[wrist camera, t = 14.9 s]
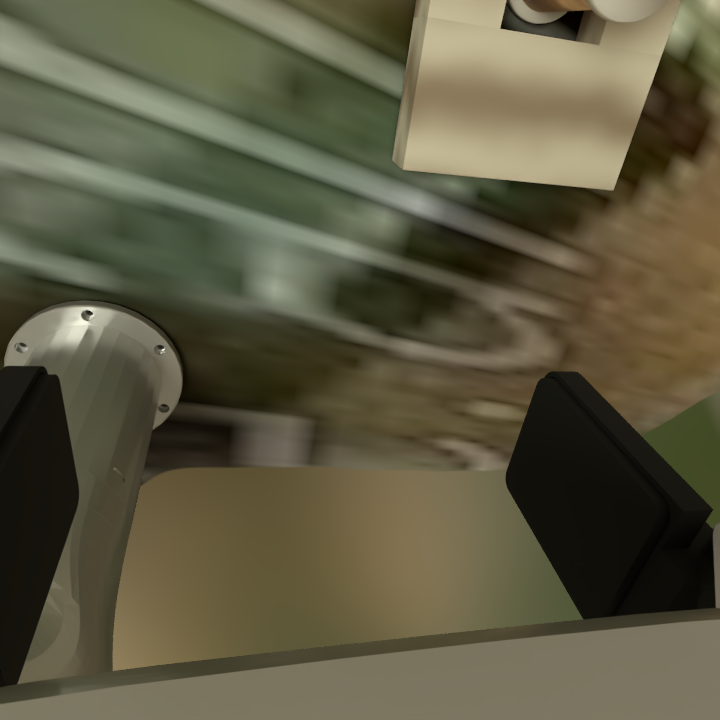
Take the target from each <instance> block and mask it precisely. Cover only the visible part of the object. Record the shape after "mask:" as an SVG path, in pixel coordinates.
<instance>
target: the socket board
mask: <svg viewBox="0 0 720 720" xmlns="http://www.w3.org/2000/svg"><path fill="white" fill-rule="evenodd" d="M506 1H507V0H416V6H415V13H414V19H413V26H412V33H411V39H410V46H409V52H408V59H407V66H406V72H405V79H404V85H403V92H402V99H401V105H400V112H399V118H398V125H397V132H396V138H395V145H394V151H393V158H392V161H393V162H394V163H396V164H397V165H398V166H399V167H400V168H401V169H402V170H410V171H420V172H430V173H441V174H451V175H461V176H471V177H481V178H492V179H502V180H512V181H522V182H533V183H543V184H553V185H563V186H573V187H584V188H594V189H604V190H614V187H615V184H616V181H617V179H618V176H619V173H620V170H621V167H622V165H623V162H624V159H625V156H626V153H627V151H628V148H629V145H630V142H631V140H632V137H633V134H634V131H635V128H636V126H637V123H638V120H639V117H640V114H641V112H642V109H643V106H644V103H645V100H646V98H647V95H648V92H649V89H650V86H651V84H652V81H653V78H654V75H655V72H656V70H657V67H658V64H659V61H660V58H661V56H662V53H663V50H664V47H665V44H666V42H667V39H668V36H669V33H670V31H671V28H672V25H673V22H674V19H675V17H676V14H677V11H678V8H679V5H680V3H681V0H668V1H667V2H666V3H665V4H664V5H663V6H662V7H661V8H660V9H659V10H657V11H656V12H654V13H653V14H651V15H650V16H648V17H646V18H644V19H641V20H638V21H634V22H610V21H607V20H604V19H602V18H600V17H599V16H598V15H596V14H595V13H594V12H593V11H592V10H584V13H583V16H582V20H581V23H580V27H579V30H578V34H577V37H576V41H570V40H564V39H558V38H552V37H546V36H540V35H534V34H528V33H522V32H516V31H510V30H504V29H500V28H501V23H502V19H503V14H504V10H505V5H506Z"/></svg>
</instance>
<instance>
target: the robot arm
mask: <svg viewBox="0 0 720 720" xmlns="http://www.w3.org/2000/svg"><path fill="white" fill-rule="evenodd" d="M87 310H88V311H91V312H92V313H89V312H88V311H87ZM159 345H162V346H163V347H161V346H159ZM182 385H183V367H182V364H181V360H180V357H179V354H178V352H177V350H176V349H175V347H174V345H173V343H172V342H171V340H170V339H169V338H168V337H167V336H166V334H165V333H164V332H163V331H162V330H161V329H160V328H159V327H157V326H156V325H155V324H154V323H153V322H152V321H150V320H148V319H147V318H145V317H143V316H142V315H140V314H138V313H137V312H135V311H132V310H130V309H127V308H125V307H122V306H119V305H115V304H111V303H106V302H101V301H88V300H82V301H71V302H64V303H61V304H57V305H53V306H50V307H48V308H46V309H44V310H42V311H40V312H38V313H36V314H34V315H33V316H32V317H31V318H29V319H28V320H27V321H25V322H24V323H23V325H22V326H21V327H20V328H19V329H18V331H17V332H16V333H15V335H14V336H13V338H12V339H11V341H10V342H9V344H8V347H7V351H6V354H5V358H4V368H3V369H2V370H1V372H0V720H720V523H718V524H717V525H716V526H715V527H714V528H713V529H712V528H711V527H710V526H709V525H708V524H707V523H706V520H707V518H708V517H709V515H710V514H711V512H712V511H713V509H712V508H711V507H710V506H709V505H708V504H707V503H706V502H705V501H704V500H703V499H702V498H701V497H700V496H699V495H698V494H697V493H696V492H695V490H693V488H691V486H690V485H689V484H688V483H687V482H686V481H685V480H684V479H683V478H682V477H681V476H680V475H679V474H678V473H677V472H676V471H675V470H674V469H673V468H672V467H671V466H670V465H669V464H668V463H667V462H666V461H665V460H664V459H663V458H662V457H661V456H660V455H659V454H658V453H657V452H656V451H655V450H654V449H653V448H652V447H651V446H650V445H649V444H648V443H647V442H646V441H645V440H644V438H643V437H642V436H641V435H640V434H639V433H638V432H637V431H636V430H635V429H634V428H633V427H632V426H631V425H630V424H629V423H628V422H627V421H626V420H625V419H624V418H623V417H622V416H621V415H620V414H619V413H618V412H617V411H616V410H615V409H614V408H613V407H612V406H611V405H610V404H609V403H608V402H607V401H606V400H605V399H604V398H603V397H602V396H601V395H600V394H599V393H598V392H597V391H596V390H595V389H594V388H593V387H592V385H591V384H590V383H589V382H588V381H587V380H586V379H585V378H584V377H583V376H582V375H581V374H579V373H578V372H554V371H552V372H549V373H548V374H547V375H546V376H545V378H542V379H540V380H539V381H538V383H537V386H536V389H535V392H534V394H533V397H532V400H531V403H530V406H529V409H528V412H527V414H526V417H525V420H524V423H523V426H522V429H521V431H520V434H519V437H518V440H517V443H516V446H515V449H514V451H513V454H512V457H511V460H510V463H509V466H508V469H507V472H506V485H507V488H508V490H509V492H510V493H511V495H512V497H513V499H514V500H515V502H516V504H517V506H518V507H519V509H520V511H521V513H522V514H523V516H524V518H525V519H526V521H527V523H528V524H529V526H530V528H531V529H532V531H533V533H534V535H535V537H536V538H537V540H538V542H539V544H540V545H541V547H542V549H543V550H544V552H545V554H546V556H547V557H548V559H549V561H550V562H551V564H552V566H553V568H554V569H555V571H556V573H557V575H558V576H559V578H560V580H561V581H562V583H563V585H564V587H565V588H566V590H567V592H568V594H569V595H570V597H571V599H572V600H573V602H574V604H575V606H576V607H577V609H578V611H579V613H580V614H581V616H582V618H583V619H584V620H574V621H564V622H554V623H544V624H534V625H524V626H514V627H505V628H495V629H486V630H476V631H467V632H457V633H448V634H438V635H429V636H419V637H410V638H401V639H392V640H382V641H373V642H364V643H354V644H345V645H335V646H326V647H318V648H309V649H301V650H291V651H282V652H273V653H264V654H256V655H246V656H237V657H228V658H219V659H211V660H201V661H192V662H184V663H175V664H166V665H157V666H149V667H143V668H134V669H127V670H119V671H112V670H113V668H112V667H113V666H112V651H113V650H112V649H113V630H114V617H115V608H116V601H117V594H118V588H119V582H120V577H121V572H122V566H123V562H124V557H125V552H126V547H127V543H128V538H129V534H130V530H131V525H132V521H133V516H134V512H135V507H136V503H137V498H138V493H139V489H140V484H141V480H142V475H143V471H144V466H145V462H146V457H147V452H148V448H149V443H150V439H151V434H152V430H154V429H155V428H156V427H158V426H159V425H161V424H162V423H163V422H164V421H165V420H166V419H167V418H168V417H169V416H170V415H171V414H172V412H173V410H174V409H175V407H176V405H177V404H178V401H179V398H180V395H181V392H182Z"/></svg>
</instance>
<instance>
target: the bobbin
mask: <svg viewBox="0 0 720 720" xmlns="http://www.w3.org/2000/svg"><path fill="white" fill-rule="evenodd" d="M667 1H668V0H507V1H506V2H507V4H508V6H509V8H510V10H511V11H512V12H513V14H514V15H515V16H517V17H518V18H519V19H521V20H522V21H525V22H527V23H533V24H542V23H549V22H552V21H555V20H557V19H558V18H560V17H562V16H563V15H564V14H566V13H567V12H568V11H581V10H592V11H593V12H594V13H595V14H596V15H598V16H599V17H600V18H602V19H604V20H607V21H610V22H634V21H638V20H641V19H644V18H646V17H648V16H650V15H651V14H653V13H654V12H656V11H657V10H659V9H660V8H661V7H662V6H663V5H664V4H665V3H666V2H667Z"/></svg>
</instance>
